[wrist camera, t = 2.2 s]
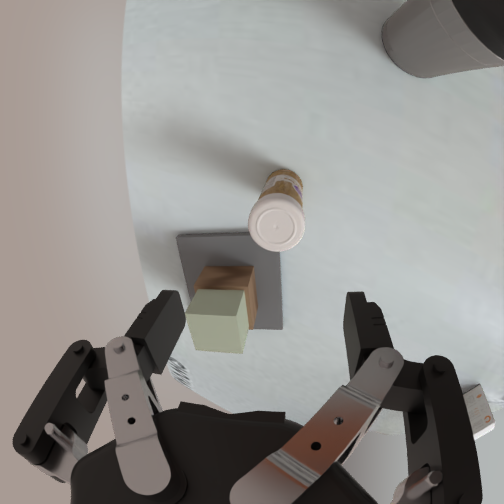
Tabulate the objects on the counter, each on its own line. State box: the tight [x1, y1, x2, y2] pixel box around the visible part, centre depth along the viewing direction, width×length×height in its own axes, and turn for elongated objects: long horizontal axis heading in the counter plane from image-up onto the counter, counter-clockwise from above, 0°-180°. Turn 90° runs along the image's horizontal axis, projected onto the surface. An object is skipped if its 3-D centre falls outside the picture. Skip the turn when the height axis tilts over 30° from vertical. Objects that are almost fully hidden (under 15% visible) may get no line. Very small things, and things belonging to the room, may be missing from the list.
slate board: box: [176, 232, 283, 330], centre depth 41 cm, size 14×16×1 cm
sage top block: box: [185, 289, 249, 354], centre depth 34 cm, size 6×6×5 cm
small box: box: [463, 385, 495, 440], centre depth 42 cm, size 8×6×13 cm
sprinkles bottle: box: [248, 169, 305, 252], centre depth 28 cm, size 5×5×14 cm
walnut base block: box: [194, 266, 258, 330], centre depth 38 cm, size 7×7×5 cm
